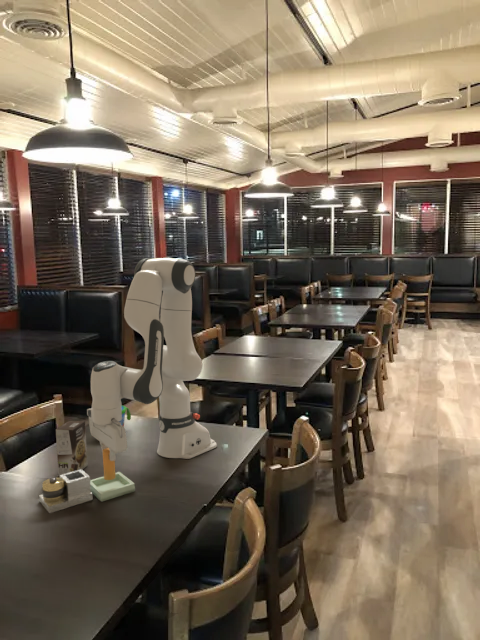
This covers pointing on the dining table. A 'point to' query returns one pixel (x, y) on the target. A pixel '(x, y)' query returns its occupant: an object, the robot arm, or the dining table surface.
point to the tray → (111, 487)
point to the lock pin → (108, 466)
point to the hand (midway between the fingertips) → (109, 457)
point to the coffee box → (71, 447)
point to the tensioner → (66, 491)
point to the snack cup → (124, 414)
